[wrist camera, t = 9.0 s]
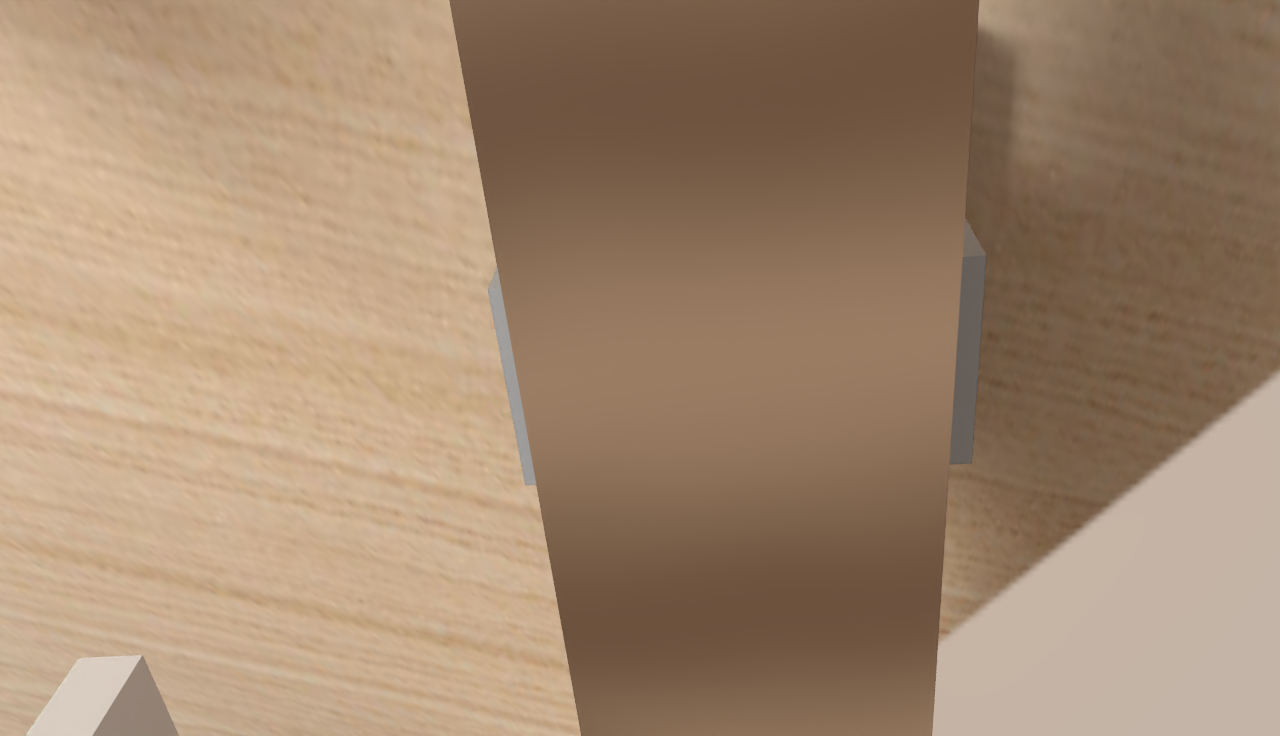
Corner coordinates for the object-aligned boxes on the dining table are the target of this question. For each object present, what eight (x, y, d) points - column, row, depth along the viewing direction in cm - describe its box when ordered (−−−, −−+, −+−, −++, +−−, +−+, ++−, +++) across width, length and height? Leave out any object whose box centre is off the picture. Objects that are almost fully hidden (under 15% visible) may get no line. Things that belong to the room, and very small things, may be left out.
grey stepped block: (937, 341, 26) (1020, 549, 19) (545, 364, 27) (490, 571, 20) (953, 11, 22) (1065, 125, 15) (493, 53, 23) (402, 178, 16)
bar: (863, 794, 23) (908, 1096, 18) (659, 797, 23) (645, 1094, 18) (883, -470, 12) (1020, -649, 7) (499, -421, 12) (350, -552, 7)
